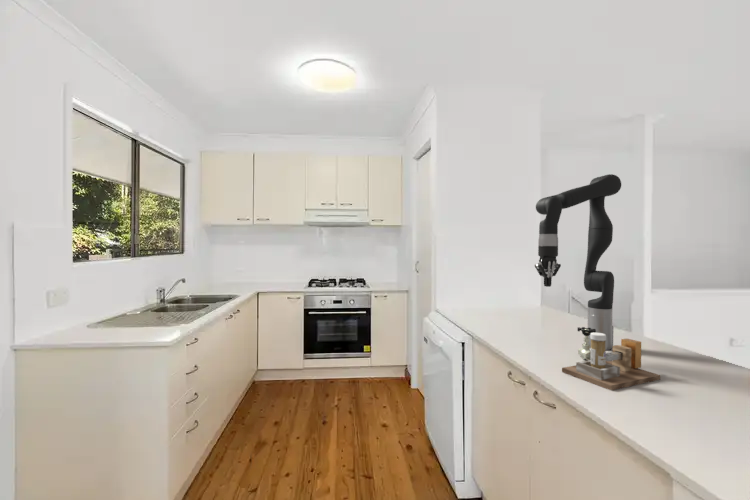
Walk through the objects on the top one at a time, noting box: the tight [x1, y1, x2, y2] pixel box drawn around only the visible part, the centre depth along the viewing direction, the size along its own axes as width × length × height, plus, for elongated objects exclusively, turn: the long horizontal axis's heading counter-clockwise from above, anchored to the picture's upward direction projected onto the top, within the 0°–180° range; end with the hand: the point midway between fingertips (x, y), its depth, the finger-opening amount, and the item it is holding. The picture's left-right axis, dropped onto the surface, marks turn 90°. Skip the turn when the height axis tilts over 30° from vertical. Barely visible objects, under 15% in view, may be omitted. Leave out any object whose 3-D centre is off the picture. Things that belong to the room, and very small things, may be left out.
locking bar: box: [606, 338, 642, 369], centre depth 131 cm, size 15×5×9 cm, turn 113°
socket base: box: [561, 344, 661, 391], centre depth 129 cm, size 24×18×9 cm
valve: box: [577, 326, 596, 361], centre depth 148 cm, size 7×7×12 cm
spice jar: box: [590, 333, 607, 369], centre depth 127 cm, size 5×5×14 cm
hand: (547, 286), depth 159 cm, fingers closed
